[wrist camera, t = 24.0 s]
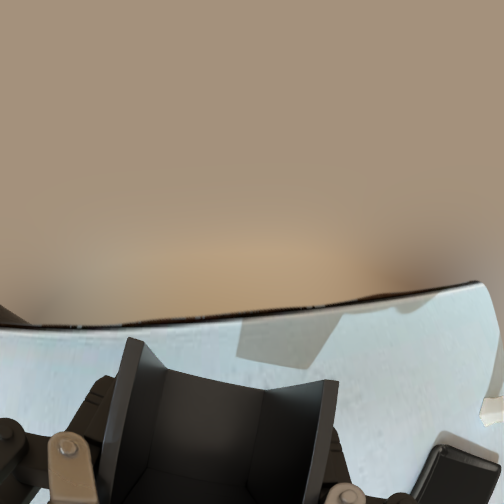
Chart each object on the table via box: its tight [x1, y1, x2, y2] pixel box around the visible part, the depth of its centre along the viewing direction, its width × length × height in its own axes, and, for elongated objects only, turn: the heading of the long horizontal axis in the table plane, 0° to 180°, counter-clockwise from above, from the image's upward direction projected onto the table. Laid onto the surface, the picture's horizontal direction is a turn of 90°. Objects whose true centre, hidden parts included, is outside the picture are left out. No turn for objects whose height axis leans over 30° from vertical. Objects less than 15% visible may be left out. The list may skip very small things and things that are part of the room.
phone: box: [410, 445, 501, 504], centre depth 17 cm, size 8×1×15 cm
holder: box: [96, 337, 339, 504], centre depth 9 cm, size 6×6×8 cm
